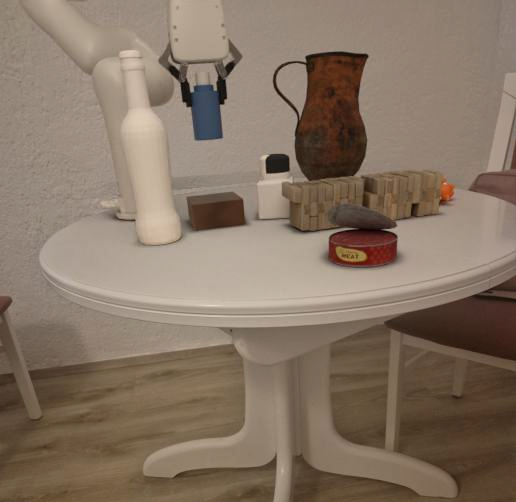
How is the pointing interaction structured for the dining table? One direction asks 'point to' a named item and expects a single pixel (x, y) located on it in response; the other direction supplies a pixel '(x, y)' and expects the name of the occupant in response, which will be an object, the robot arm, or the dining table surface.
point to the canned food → (361, 237)
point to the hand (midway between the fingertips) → (205, 104)
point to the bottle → (147, 158)
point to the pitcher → (330, 116)
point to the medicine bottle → (273, 186)
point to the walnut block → (215, 210)
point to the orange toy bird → (446, 190)
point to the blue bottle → (205, 109)
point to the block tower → (364, 196)
